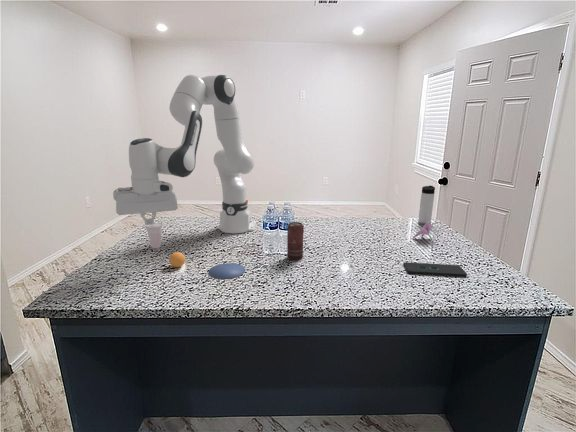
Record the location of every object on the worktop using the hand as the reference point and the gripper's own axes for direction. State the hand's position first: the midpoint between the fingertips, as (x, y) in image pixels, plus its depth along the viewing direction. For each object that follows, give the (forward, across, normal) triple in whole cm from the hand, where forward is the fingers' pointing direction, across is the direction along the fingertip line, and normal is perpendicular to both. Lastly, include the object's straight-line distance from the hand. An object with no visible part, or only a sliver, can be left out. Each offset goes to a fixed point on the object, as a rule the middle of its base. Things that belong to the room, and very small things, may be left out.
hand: (149, 224), depth 122 cm
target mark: (+16, +24, -16) cm, 33 cm away
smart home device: (+16, +92, -46) cm, 104 cm away
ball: (+13, +8, -5) cm, 16 cm away
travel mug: (+15, +136, 0) cm, 136 cm away
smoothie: (+16, +2, +19) cm, 25 cm away
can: (+15, +51, -15) cm, 56 cm away
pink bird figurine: (+15, +115, -20) cm, 118 cm away
